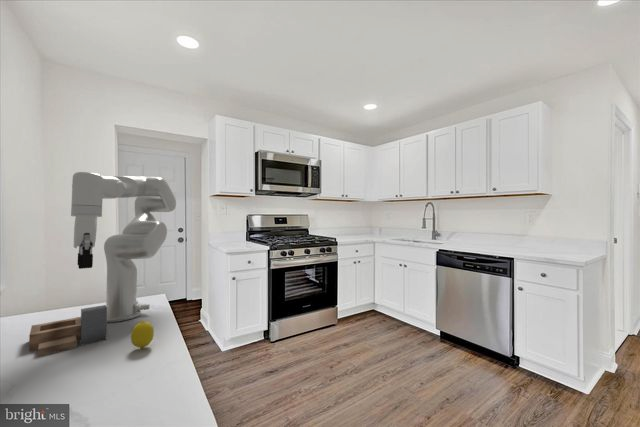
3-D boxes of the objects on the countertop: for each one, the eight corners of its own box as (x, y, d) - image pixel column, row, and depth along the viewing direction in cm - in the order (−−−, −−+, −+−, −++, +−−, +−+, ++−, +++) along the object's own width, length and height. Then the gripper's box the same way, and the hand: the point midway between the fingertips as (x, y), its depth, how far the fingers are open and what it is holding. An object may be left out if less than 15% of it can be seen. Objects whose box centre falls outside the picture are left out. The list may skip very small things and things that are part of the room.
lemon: (142, 354, 78) (143, 325, 78) (126, 352, 79) (126, 323, 79) (157, 345, 83) (158, 318, 84) (142, 343, 84) (142, 317, 85)
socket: (81, 325, 99) (81, 312, 99) (85, 345, 83) (86, 330, 83) (32, 334, 91) (33, 320, 91) (27, 358, 75) (27, 342, 75)
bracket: (104, 336, 90) (105, 305, 90) (106, 339, 87) (106, 307, 87) (80, 342, 86) (81, 309, 86) (80, 345, 83) (81, 311, 83)
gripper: (70, 212, 92) (68, 264, 91) (71, 210, 80) (68, 270, 79) (99, 213, 97) (97, 263, 96) (104, 211, 85) (102, 268, 84)
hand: (84, 266), depth 88 cm, fingers open, 9 cm apart
